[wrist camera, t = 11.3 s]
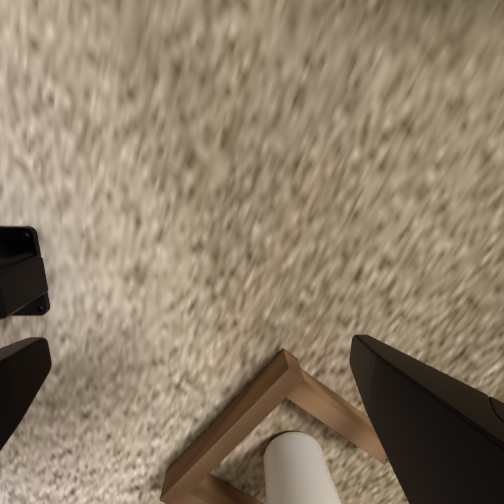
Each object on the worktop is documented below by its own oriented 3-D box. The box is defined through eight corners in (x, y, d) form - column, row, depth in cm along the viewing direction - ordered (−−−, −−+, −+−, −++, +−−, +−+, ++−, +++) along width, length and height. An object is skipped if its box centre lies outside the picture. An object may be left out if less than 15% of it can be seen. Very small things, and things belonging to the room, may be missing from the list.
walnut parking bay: (166, 470, 27) (159, 501, 24) (283, 348, 24) (289, 369, 21) (272, 529, 29) (276, 562, 27) (389, 425, 26) (404, 452, 24)
